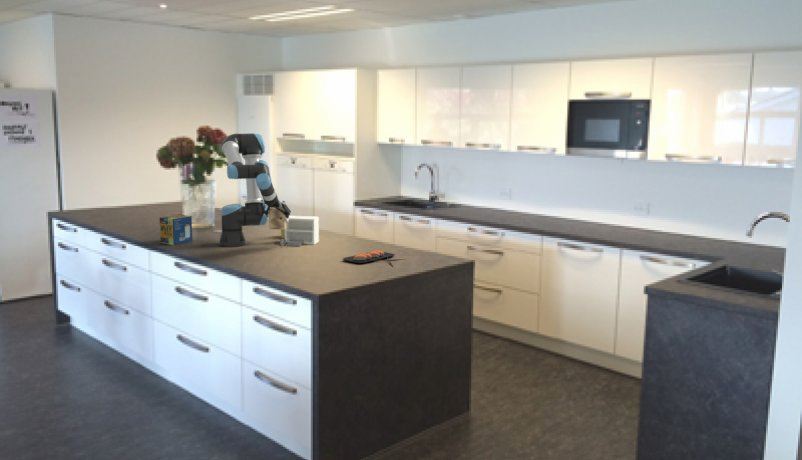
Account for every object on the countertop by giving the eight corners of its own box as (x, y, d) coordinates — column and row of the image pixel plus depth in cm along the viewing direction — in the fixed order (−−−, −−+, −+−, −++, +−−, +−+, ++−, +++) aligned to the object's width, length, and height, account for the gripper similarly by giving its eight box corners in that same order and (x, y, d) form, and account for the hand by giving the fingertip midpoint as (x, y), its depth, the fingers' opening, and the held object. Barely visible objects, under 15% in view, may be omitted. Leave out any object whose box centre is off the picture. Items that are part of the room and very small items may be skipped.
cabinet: (280, 245, 391) (280, 220, 388) (290, 240, 408) (289, 215, 405) (310, 246, 388) (310, 221, 385) (319, 241, 405) (318, 216, 403)
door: (268, 229, 380) (268, 208, 378) (271, 227, 384) (271, 207, 382) (284, 230, 379) (283, 208, 377) (286, 228, 383) (286, 207, 381)
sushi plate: (377, 254, 374) (377, 247, 373) (419, 261, 355) (419, 254, 355) (340, 262, 352) (340, 255, 351) (383, 271, 333) (383, 263, 332)
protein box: (160, 243, 392) (158, 217, 389) (180, 239, 405) (179, 214, 403) (173, 245, 387) (172, 218, 384) (193, 241, 400) (192, 215, 398)
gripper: (248, 200, 366) (259, 224, 384) (287, 202, 362) (296, 226, 381) (252, 190, 370) (263, 214, 388) (290, 191, 367) (299, 215, 385)
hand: (279, 220), depth 384 cm, fingers closed on door, 9 cm apart
